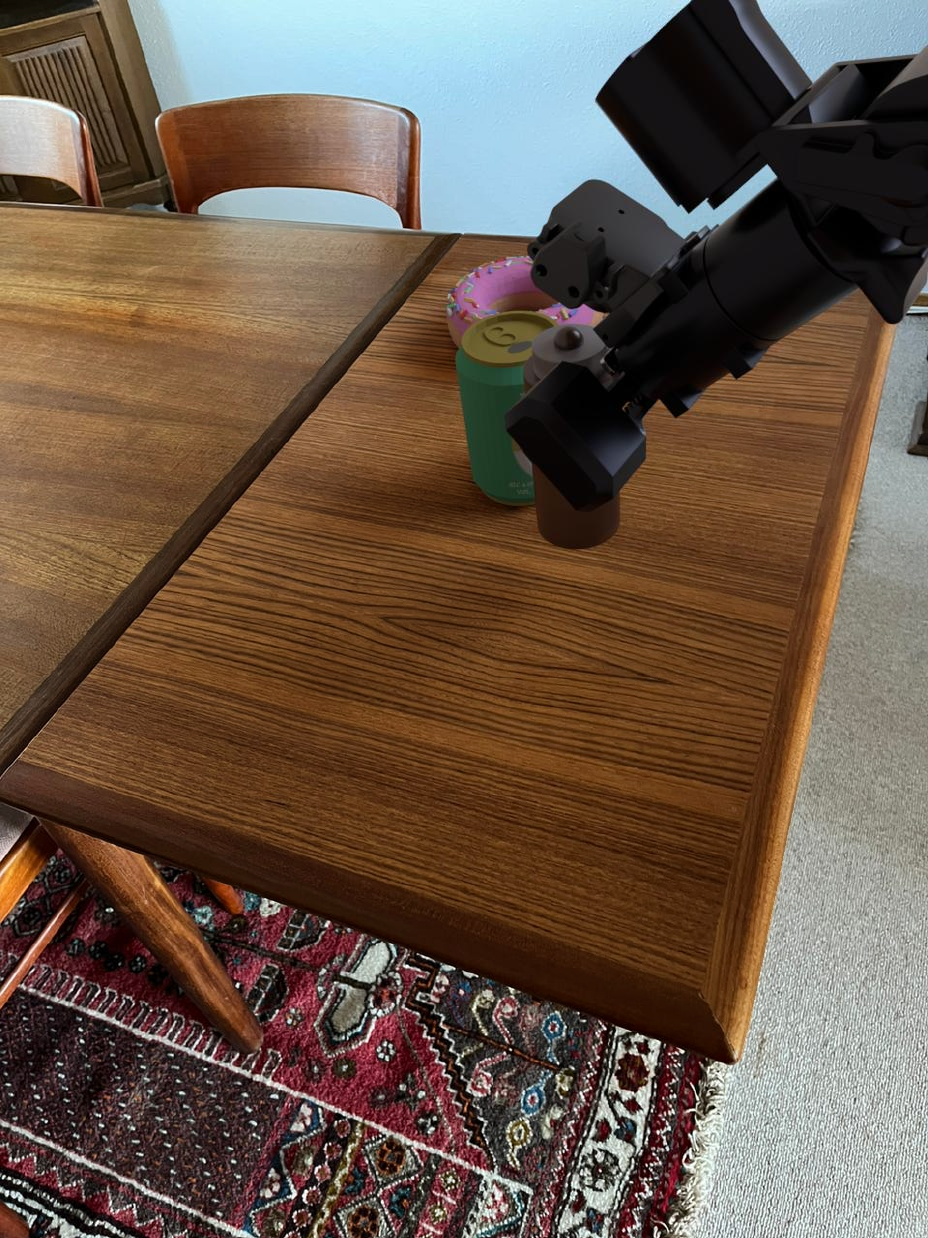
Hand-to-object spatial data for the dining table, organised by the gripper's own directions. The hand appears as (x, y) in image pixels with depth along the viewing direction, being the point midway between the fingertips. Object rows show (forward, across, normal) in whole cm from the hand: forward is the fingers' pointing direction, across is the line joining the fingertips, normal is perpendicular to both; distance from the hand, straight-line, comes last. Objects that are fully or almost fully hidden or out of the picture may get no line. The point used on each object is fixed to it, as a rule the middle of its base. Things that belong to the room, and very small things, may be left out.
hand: (553, 430), depth 55 cm
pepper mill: (+4, 0, +6) cm, 7 cm away
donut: (+22, -27, -5) cm, 35 cm away
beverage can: (+15, -9, +3) cm, 17 cm away
